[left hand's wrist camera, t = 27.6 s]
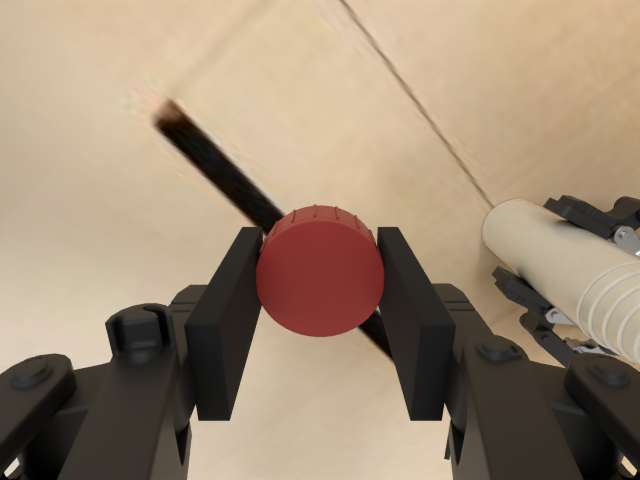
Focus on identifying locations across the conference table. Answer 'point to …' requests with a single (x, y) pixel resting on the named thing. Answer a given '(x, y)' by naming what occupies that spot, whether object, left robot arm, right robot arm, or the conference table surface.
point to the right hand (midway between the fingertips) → (526, 242)
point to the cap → (320, 272)
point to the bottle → (571, 271)
